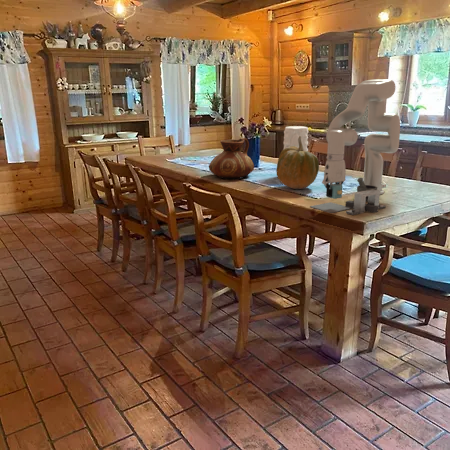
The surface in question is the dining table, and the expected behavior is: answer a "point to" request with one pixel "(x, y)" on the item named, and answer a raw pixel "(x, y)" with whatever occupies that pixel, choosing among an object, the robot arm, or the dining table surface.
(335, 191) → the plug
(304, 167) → the pumpkin
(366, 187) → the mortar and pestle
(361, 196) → the housing
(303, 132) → the vase
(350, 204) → the lead
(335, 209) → the mat
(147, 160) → the dining table surface
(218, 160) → the jug
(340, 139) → the robot arm
